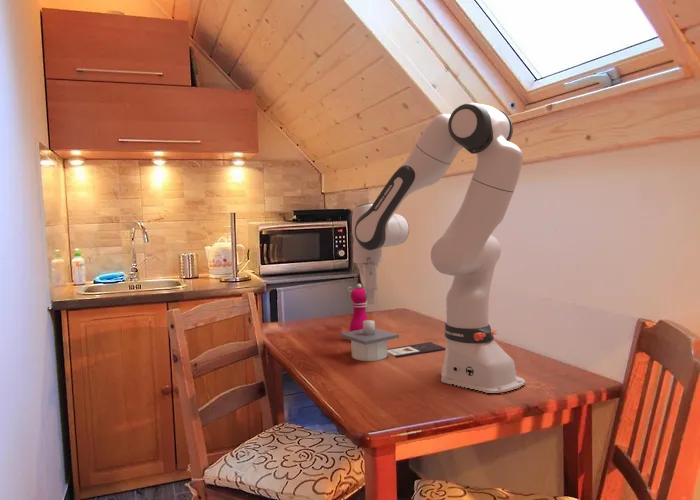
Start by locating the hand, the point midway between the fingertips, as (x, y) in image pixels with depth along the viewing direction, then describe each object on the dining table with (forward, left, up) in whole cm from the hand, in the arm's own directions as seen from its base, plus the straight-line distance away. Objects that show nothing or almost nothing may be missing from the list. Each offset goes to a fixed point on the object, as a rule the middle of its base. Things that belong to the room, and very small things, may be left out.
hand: (369, 301), depth 162 cm
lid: (0, 0, -11) cm, 11 cm away
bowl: (0, 0, -17) cm, 17 cm away
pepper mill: (+17, -9, -18) cm, 26 cm away
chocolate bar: (-4, -15, -18) cm, 24 cm away
